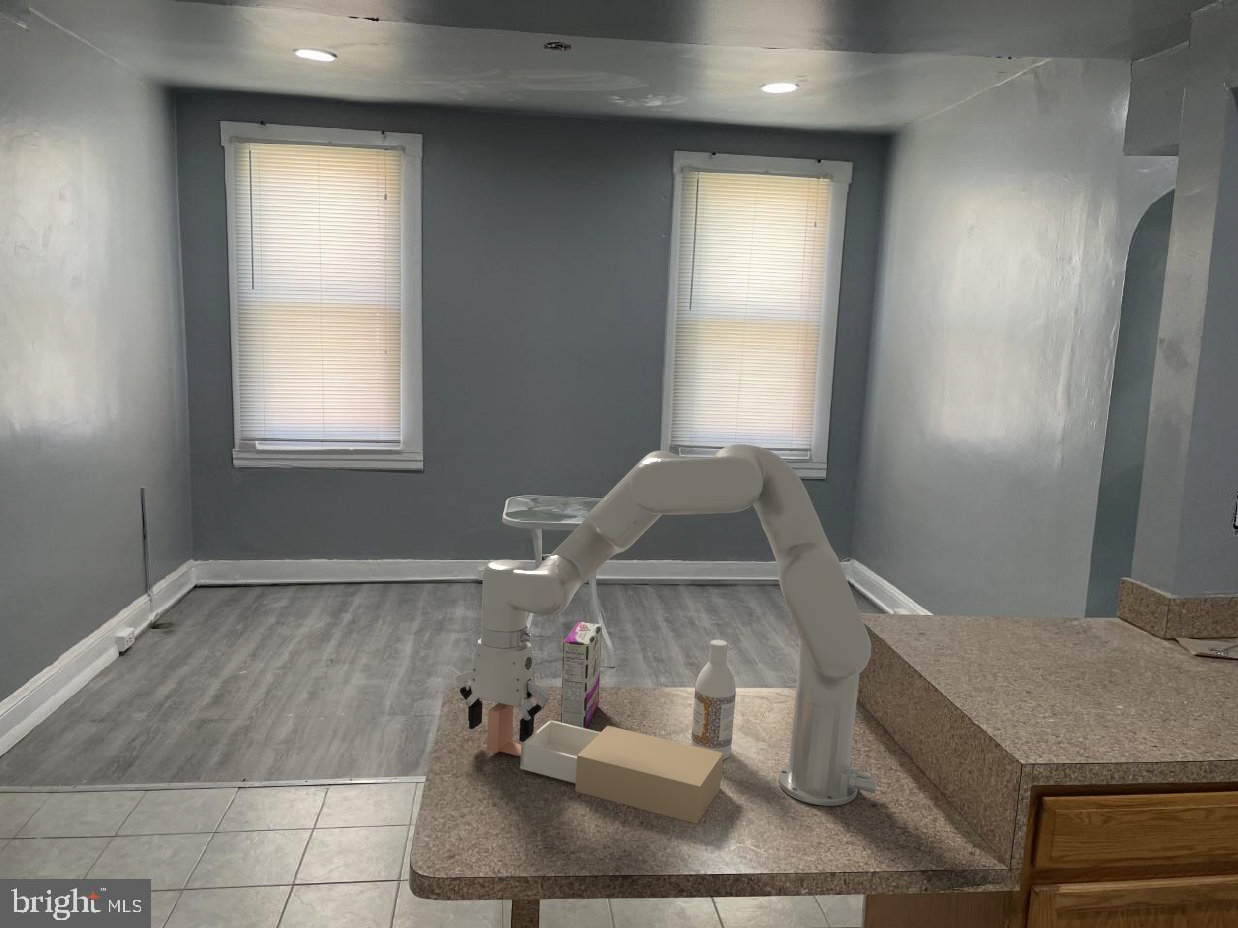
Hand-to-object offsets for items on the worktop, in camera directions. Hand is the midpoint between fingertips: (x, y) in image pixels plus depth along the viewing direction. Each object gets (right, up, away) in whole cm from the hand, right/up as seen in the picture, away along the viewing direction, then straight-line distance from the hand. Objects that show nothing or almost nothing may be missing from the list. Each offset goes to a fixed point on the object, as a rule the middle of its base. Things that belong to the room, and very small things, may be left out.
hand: (500, 732), depth 157 cm
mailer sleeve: (+25, -6, -9) cm, 27 cm away
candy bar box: (+13, -2, +16) cm, 20 cm away
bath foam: (+36, -5, +4) cm, 36 cm away
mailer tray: (+11, -4, -4) cm, 13 cm away
